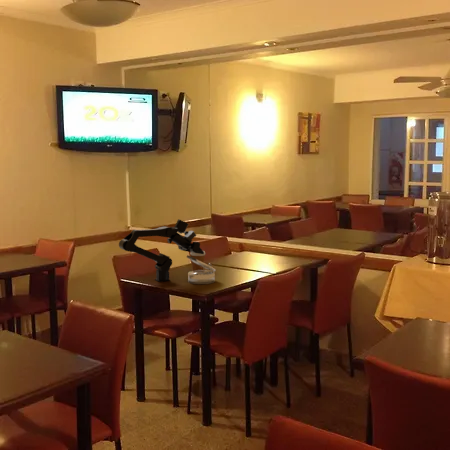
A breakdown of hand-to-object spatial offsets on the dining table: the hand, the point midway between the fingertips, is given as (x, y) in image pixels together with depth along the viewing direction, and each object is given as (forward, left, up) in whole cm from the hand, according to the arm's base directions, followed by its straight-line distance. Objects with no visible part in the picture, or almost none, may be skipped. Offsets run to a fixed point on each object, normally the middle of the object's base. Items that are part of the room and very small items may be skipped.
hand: (199, 252), depth 341 cm
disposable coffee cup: (+8, +15, -14) cm, 23 cm away
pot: (-6, -13, -14) cm, 20 cm away
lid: (-7, -13, -4) cm, 15 cm away
